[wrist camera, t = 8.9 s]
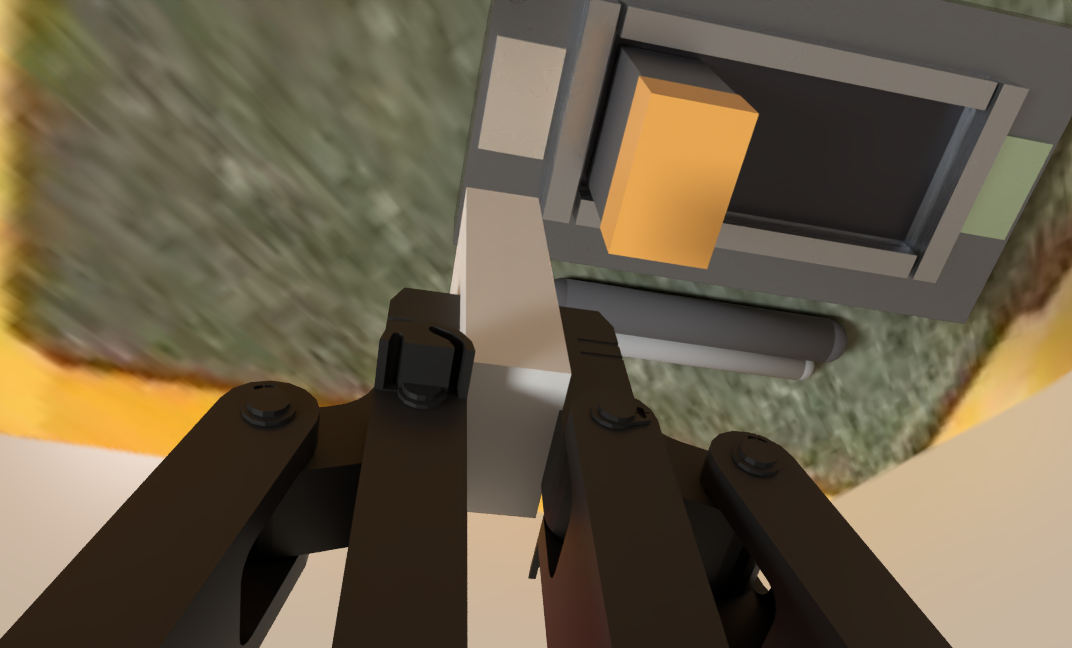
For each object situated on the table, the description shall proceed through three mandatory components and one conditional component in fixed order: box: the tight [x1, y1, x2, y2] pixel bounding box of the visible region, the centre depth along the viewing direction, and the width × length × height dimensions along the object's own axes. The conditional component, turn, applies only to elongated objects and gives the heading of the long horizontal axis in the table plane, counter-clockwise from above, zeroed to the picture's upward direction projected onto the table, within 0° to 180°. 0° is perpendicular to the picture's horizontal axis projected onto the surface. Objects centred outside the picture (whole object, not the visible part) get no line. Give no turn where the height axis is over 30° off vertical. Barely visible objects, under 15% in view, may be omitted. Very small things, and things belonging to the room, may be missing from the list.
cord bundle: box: [554, 278, 847, 380], centre depth 37 cm, size 14×3×2 cm, turn 79°
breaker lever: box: [587, 45, 759, 269], centre depth 28 cm, size 3×5×6 cm, turn 168°
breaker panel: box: [453, 0, 1072, 324], centre depth 32 cm, size 22×12×4 cm, turn 78°
